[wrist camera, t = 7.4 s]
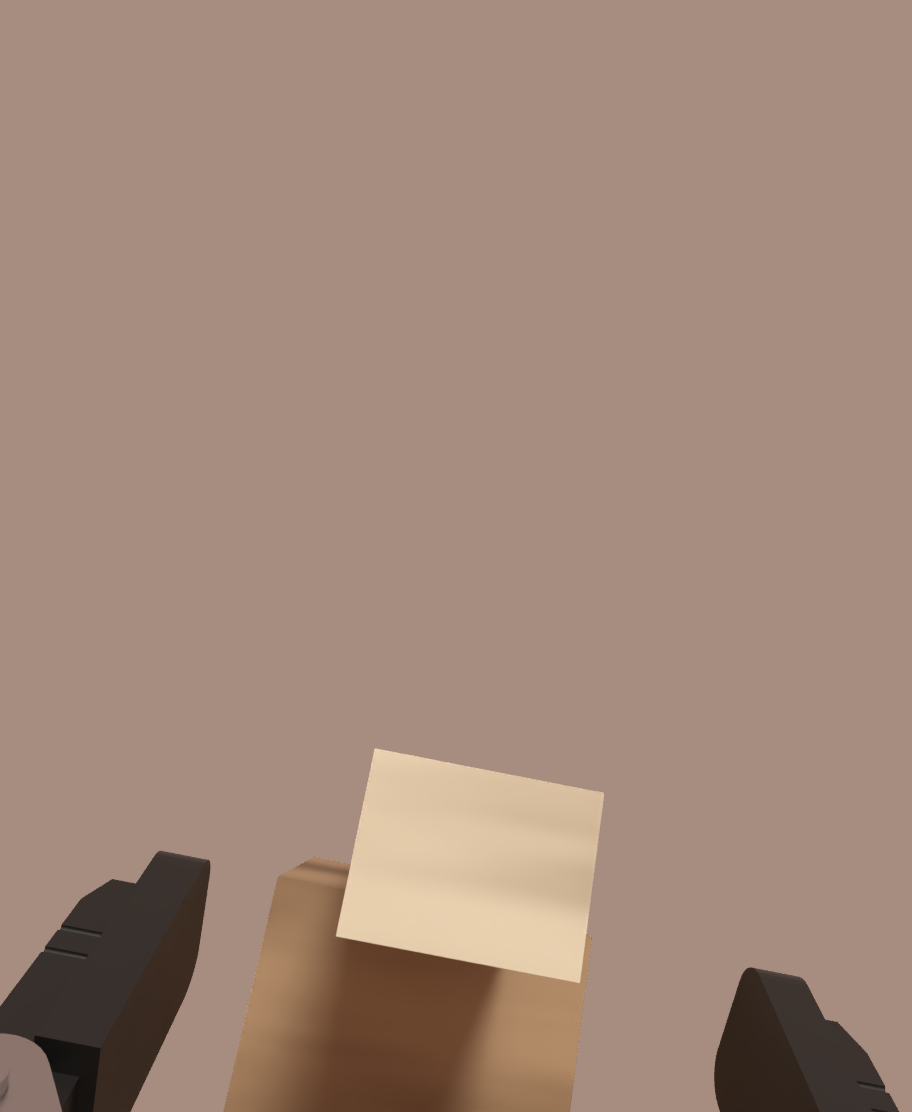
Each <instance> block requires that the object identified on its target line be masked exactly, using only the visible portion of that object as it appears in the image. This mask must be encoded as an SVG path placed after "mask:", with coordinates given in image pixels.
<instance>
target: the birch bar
mask: <svg viewBox="0 0 912 1112" xmlns="http://www.w3.org/2000/svg"><path fill="white" fill-rule="evenodd" d="M603 799H604V793H601V792H596V791H591V790H586V789H580V788H575V787H570V786H565V785H560V784H555V783H550V782H545V781H539V780H535V779H529V778H524V777H519V776H514V775H509V774H504V773H498V772H494V771H488V770H483V769H478V768H473V767H467V766H463V765H458V764H452V763H447V762H442V761H437V760H432V759H427V758H422V757H416V756H411V755H406V754H401V753H395V752H391V751H386V750H380V749H375V751H374V755H373V760H372V765H371V770H370V774H369V779H368V784H367V789H366V794H365V799H364V803H363V808H362V813H361V818H360V822H359V827H358V832H357V837H356V841H355V847H354V851H353V856H352V861H351V865H350V870H349V875H348V880H347V885H346V889H345V894H344V899H343V904H342V909H341V913H340V918H339V923H338V928H337V933H336V937H342V938H347V939H352V940H357V941H362V942H368V943H373V944H378V945H383V946H389V947H394V948H399V949H404V950H409V951H415V952H420V953H425V954H430V955H436V956H441V957H446V958H451V959H456V960H462V961H467V962H472V963H477V964H483V965H488V966H493V967H498V968H503V969H509V970H514V971H519V972H524V973H529V974H535V975H540V976H545V977H550V978H556V979H561V980H566V981H571V982H576V983H580V979H581V971H582V963H583V955H584V948H585V940H586V932H587V924H588V916H589V908H590V900H591V892H592V885H593V877H594V869H595V861H596V854H597V845H598V838H599V830H600V822H601V815H602V807H603Z"/></svg>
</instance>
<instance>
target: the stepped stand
mask: <svg viewBox="0 0 912 1112" xmlns="http://www.w3.org/2000/svg"><path fill="white" fill-rule="evenodd" d="M350 865H351V864H346V863H341V862H335V861H330V860H325V859H320V858H315V857H314V858H312V859H310V860H308V861H306V862H304V863H303V864H301V865H299V866H297V867H295V868H294V869H292V870H290V871H288V872H286V873H284V874H283V875H281V876H279V877H278V878H277V883H276V887H275V891H274V896H273V900H272V904H271V909H270V913H269V917H268V922H267V926H266V930H265V935H264V939H263V943H262V948H261V952H260V956H259V960H258V965H257V969H256V973H255V978H254V983H253V986H252V991H251V995H250V999H249V1004H248V1008H247V1013H246V1017H245V1021H244V1026H243V1030H242V1034H241V1038H240V1042H239V1047H238V1051H237V1056H236V1060H235V1064H234V1069H233V1073H232V1077H231V1081H230V1086H229V1090H228V1094H227V1098H226V1103H225V1107H224V1111H223V1112H570V1106H571V1099H572V1091H573V1082H574V1074H575V1067H576V1059H577V1051H578V1043H579V1035H580V1027H581V1019H582V1011H583V1004H584V996H585V987H586V980H587V972H588V963H589V956H590V948H591V940H592V937H590V936H589V935H587V934H586V940H585V948H584V955H583V963H582V971H581V979H580V983H576V982H571V981H566V980H561V979H556V978H550V977H545V976H540V975H535V974H529V973H524V972H519V971H514V970H509V969H503V968H498V967H493V966H488V965H483V964H477V963H472V962H467V961H462V960H456V959H451V958H446V957H441V956H436V955H430V954H425V953H420V952H415V951H409V950H404V949H399V948H394V947H389V946H383V945H378V944H373V943H368V942H362V941H357V940H352V939H347V938H342V937H336V933H337V928H338V923H339V918H340V913H341V909H342V904H343V899H344V894H345V889H346V885H347V880H348V875H349V870H350Z"/></svg>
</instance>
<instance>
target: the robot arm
mask: <svg viewBox="0 0 912 1112" xmlns="http://www.w3.org/2000/svg"><path fill="white" fill-rule="evenodd" d="M209 876H210V861H209V860H205V859H200V858H195V857H190V856H184V855H180V854H175V853H169V852H164V851H159V852H158V853H156V855H155V856H154V858H153V859H152V861H151V862H150V864H149V865H148V866H147V868H146V870H145V871H144V873H143V874H142V875H141V877H140V879H139V880H138V882H137V883H136V884H134V883H129V882H124V881H119V880H114V879H112V880H110V881H109V882H107V883H105V884H104V885H102V886H101V887H99V888H97V889H96V890H94V891H93V892H91V893H90V894H88V895H86V896H85V897H83V898H82V899H81V900H80V901H79V902H78V904H77V905H76V906H75V908H74V909H73V910H72V912H71V913H70V914H69V916H68V917H67V919H66V920H65V921H64V922H63V924H62V926H61V929H60V930H57V932H56V933H55V934H54V936H53V937H52V938H51V940H50V941H49V942H48V944H47V945H46V946H45V950H44V952H41V953H40V954H39V956H38V957H37V958H36V960H35V961H34V962H33V964H32V965H31V966H30V968H29V969H28V970H27V972H26V973H25V974H24V976H23V977H22V978H21V980H20V981H19V982H18V984H17V985H16V986H15V988H14V989H13V990H12V992H11V993H10V994H9V995H8V997H7V998H6V1000H5V1001H4V1002H3V1004H2V1005H1V1006H0V1112H130V1111H131V1109H132V1107H133V1105H134V1103H135V1101H136V1099H137V1097H138V1095H139V1092H140V1090H141V1088H142V1086H143V1084H144V1082H145V1080H146V1077H147V1075H148V1073H149V1071H150V1069H151V1067H152V1065H153V1063H154V1061H155V1059H156V1056H157V1054H158V1052H159V1050H160V1048H161V1046H162V1044H163V1042H164V1040H165V1038H166V1035H167V1033H168V1031H169V1029H170V1027H171V1025H172V1023H173V1021H174V1018H175V1016H176V1014H177V1012H178V1010H179V1008H180V1006H181V1004H182V1002H183V1000H184V997H185V995H186V992H187V990H188V987H189V984H190V981H191V978H192V975H193V972H194V968H195V964H196V960H197V956H198V950H199V944H200V937H201V931H202V924H203V917H204V910H205V903H206V896H207V890H208V883H209ZM714 1077H715V1078H714V1082H715V1093H716V1099H717V1102H718V1106H719V1110H720V1112H899V1111H898V1109H897V1107H896V1105H895V1103H894V1101H893V1100H892V1098H891V1096H890V1094H889V1093H886V1092H885V1085H884V1084H883V1081H882V1080H881V1078H880V1076H879V1074H878V1072H877V1070H876V1069H875V1067H874V1066H873V1063H872V1061H871V1060H870V1058H869V1056H868V1054H867V1053H866V1052H865V1051H864V1050H863V1049H862V1047H861V1046H860V1045H858V1043H857V1042H856V1041H855V1040H854V1039H853V1038H852V1037H851V1036H850V1035H849V1034H848V1033H847V1032H846V1031H845V1030H844V1029H843V1027H842V1026H841V1025H840V1024H838V1022H834V1021H829V1020H825V1019H824V1017H823V1015H822V1013H821V1011H820V1009H819V1007H818V1005H817V1003H816V1001H815V999H814V997H813V995H812V993H811V991H810V989H809V987H808V985H807V984H806V982H805V981H804V980H803V979H802V978H800V977H797V976H792V975H787V974H781V973H776V972H771V971H766V970H761V969H756V968H747V969H746V970H745V971H744V973H743V974H742V977H741V979H740V982H739V985H738V988H737V991H736V994H735V998H734V1001H733V1004H732V1007H731V1010H730V1013H729V1016H728V1020H727V1023H726V1026H725V1029H724V1032H723V1035H722V1038H721V1041H720V1045H719V1048H718V1051H717V1055H716V1061H715V1072H714Z"/></svg>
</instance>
